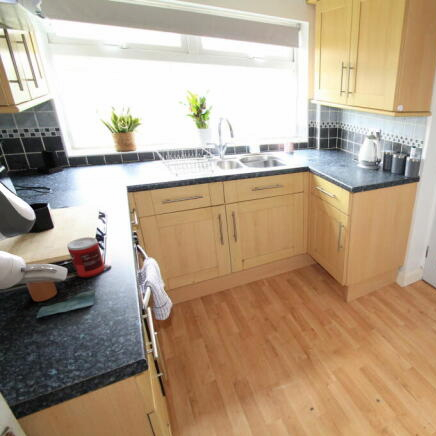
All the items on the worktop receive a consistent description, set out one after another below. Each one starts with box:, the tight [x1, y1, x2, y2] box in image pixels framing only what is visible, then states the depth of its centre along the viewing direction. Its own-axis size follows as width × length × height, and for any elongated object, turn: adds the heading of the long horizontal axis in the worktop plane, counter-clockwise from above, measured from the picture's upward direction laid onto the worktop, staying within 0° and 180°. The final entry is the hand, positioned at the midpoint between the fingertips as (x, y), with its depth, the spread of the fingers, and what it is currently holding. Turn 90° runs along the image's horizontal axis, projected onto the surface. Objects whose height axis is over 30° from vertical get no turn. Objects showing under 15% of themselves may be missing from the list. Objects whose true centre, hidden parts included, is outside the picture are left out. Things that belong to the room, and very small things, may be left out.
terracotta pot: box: [25, 282, 58, 302], centre depth 93 cm, size 6×6×9 cm
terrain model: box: [35, 289, 97, 319], centre depth 89 cm, size 13×8×2 cm, turn 122°
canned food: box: [66, 236, 106, 278], centre depth 104 cm, size 8×8×11 cm
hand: (40, 280), depth 93 cm, fingers open, 8 cm apart
